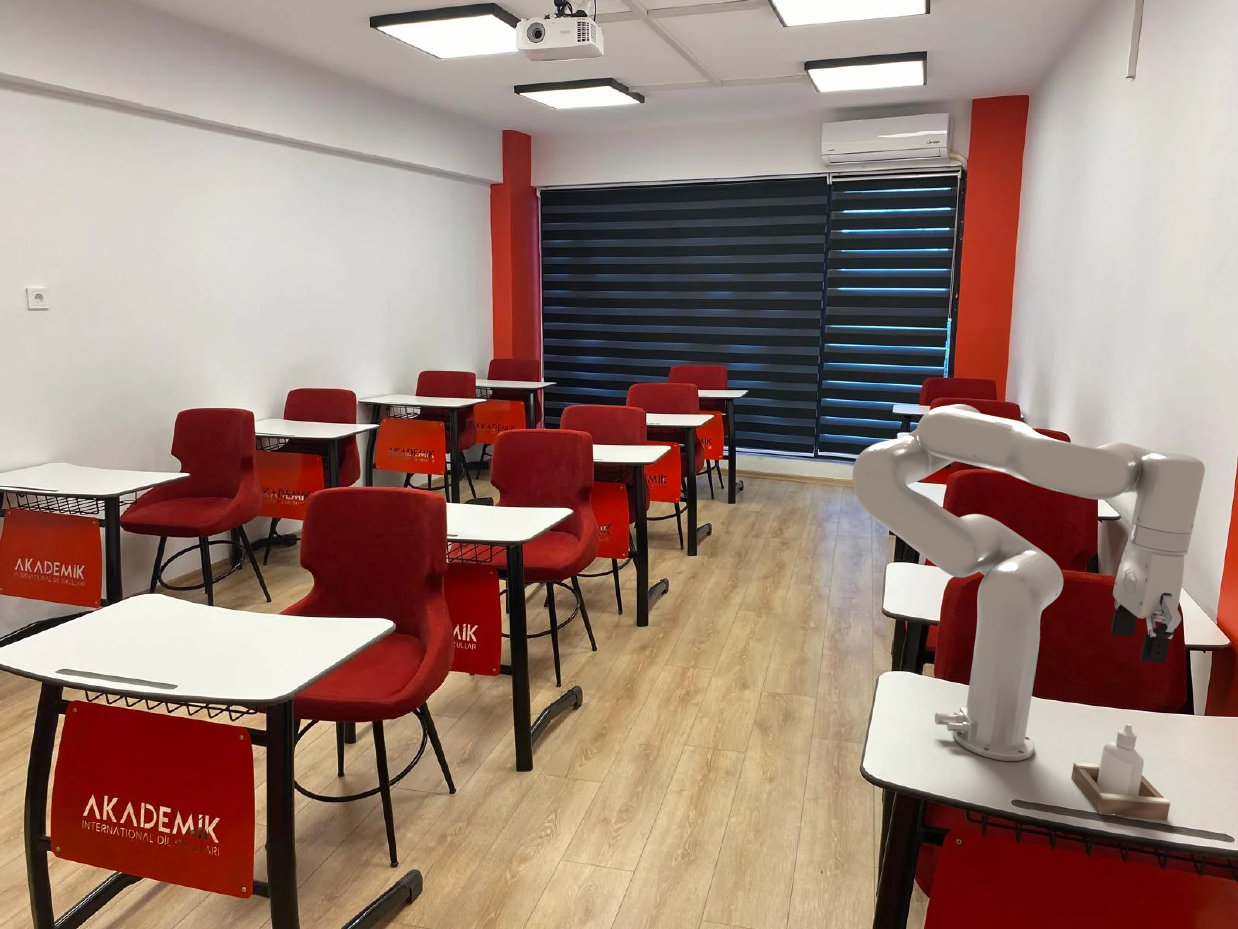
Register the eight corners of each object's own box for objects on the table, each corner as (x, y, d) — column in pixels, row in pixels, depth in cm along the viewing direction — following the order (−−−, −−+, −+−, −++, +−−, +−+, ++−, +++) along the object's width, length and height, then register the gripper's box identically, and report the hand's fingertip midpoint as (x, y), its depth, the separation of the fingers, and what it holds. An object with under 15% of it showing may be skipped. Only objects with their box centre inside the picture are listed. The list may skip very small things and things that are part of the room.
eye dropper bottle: (1107, 806, 129) (1121, 732, 127) (1093, 785, 135) (1105, 714, 132) (1139, 810, 129) (1153, 735, 126) (1123, 789, 134) (1136, 717, 132)
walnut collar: (1100, 814, 127) (1103, 797, 126) (1071, 778, 136) (1073, 762, 136) (1167, 819, 126) (1170, 802, 126) (1133, 783, 136) (1136, 767, 135)
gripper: (1106, 519, 135) (1086, 623, 139) (1160, 553, 118) (1136, 670, 122) (1157, 524, 134) (1136, 628, 138) (1219, 559, 117) (1193, 676, 121)
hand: (1136, 647), depth 130 cm, fingers open, 9 cm apart
